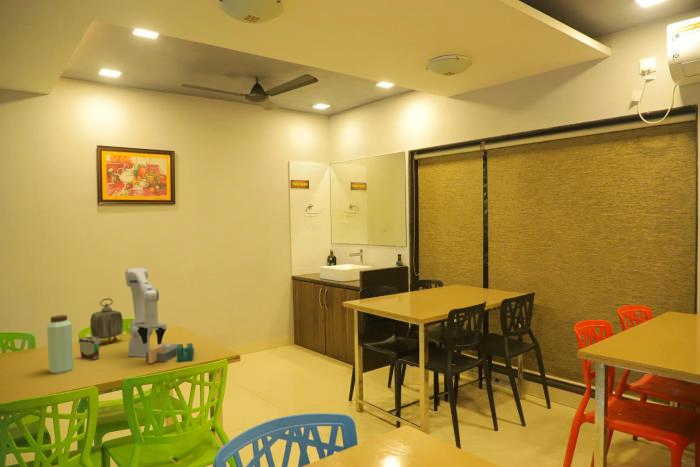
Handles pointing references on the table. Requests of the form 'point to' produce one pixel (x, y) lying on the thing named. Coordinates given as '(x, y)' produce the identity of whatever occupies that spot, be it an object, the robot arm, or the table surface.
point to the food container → (89, 348)
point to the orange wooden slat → (154, 353)
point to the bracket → (185, 353)
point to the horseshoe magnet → (165, 352)
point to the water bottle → (60, 344)
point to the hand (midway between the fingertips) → (152, 343)
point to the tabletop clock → (106, 323)
